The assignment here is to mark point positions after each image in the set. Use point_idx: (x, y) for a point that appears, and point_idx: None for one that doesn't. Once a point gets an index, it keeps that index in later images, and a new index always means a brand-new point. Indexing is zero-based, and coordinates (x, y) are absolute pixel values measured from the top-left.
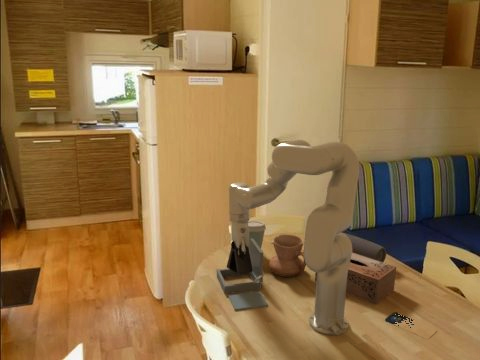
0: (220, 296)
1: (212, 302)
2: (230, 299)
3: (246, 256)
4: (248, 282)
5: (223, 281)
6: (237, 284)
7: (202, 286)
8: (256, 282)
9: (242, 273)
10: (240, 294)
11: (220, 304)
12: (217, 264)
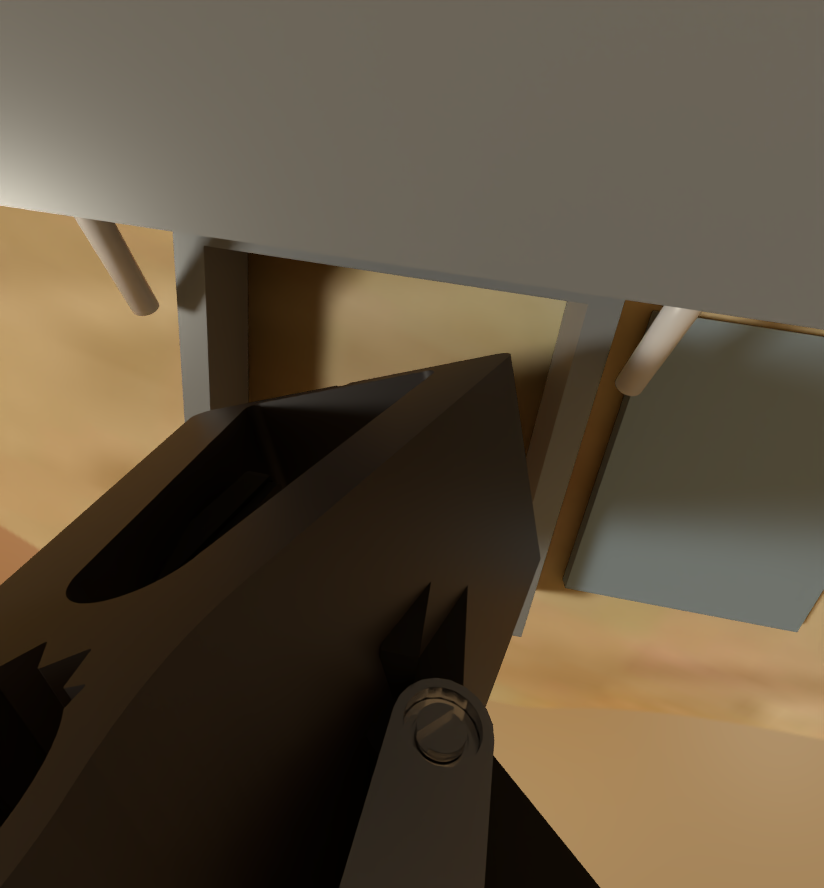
0: (535, 622)
1: (585, 689)
2: (642, 602)
3: (414, 552)
4: (557, 416)
5: None
6: (541, 531)
7: None
8: (604, 329)
9: (533, 527)
10: (613, 506)
11: (640, 662)
12: (16, 447)
